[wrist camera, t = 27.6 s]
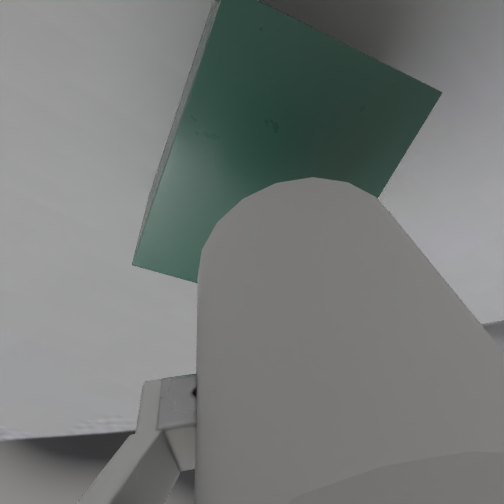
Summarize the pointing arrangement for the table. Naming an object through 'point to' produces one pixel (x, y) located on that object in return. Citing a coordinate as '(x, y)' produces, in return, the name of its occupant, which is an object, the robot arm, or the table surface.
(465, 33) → the table surface
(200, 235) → the tin lid
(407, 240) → the can
